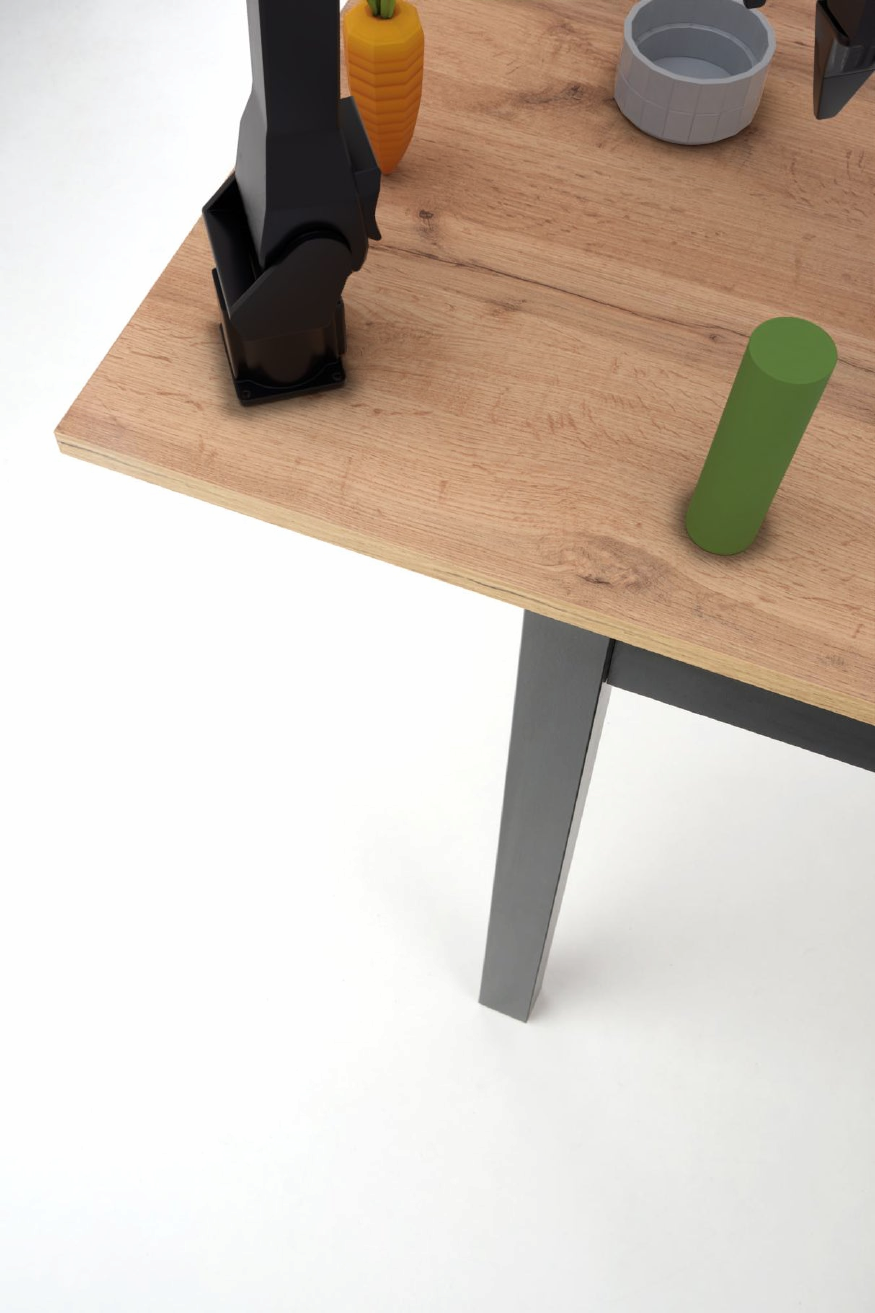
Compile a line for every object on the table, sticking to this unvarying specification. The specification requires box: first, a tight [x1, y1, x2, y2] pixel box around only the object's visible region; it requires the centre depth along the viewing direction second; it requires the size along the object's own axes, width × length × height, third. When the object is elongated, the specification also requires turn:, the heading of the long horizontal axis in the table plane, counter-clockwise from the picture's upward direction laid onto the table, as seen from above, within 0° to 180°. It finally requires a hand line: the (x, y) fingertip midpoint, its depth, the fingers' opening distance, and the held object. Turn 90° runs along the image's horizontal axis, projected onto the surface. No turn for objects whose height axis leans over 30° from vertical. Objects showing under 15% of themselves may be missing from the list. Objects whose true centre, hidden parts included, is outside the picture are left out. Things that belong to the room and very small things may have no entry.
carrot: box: [341, 0, 425, 175], centre depth 71 cm, size 5×5×15 cm
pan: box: [613, 0, 777, 146], centre depth 80 cm, size 10×10×5 cm
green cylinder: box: [684, 316, 839, 556], centre depth 59 cm, size 4×4×14 cm
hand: (787, 59), depth 61 cm, fingers open, 9 cm apart
